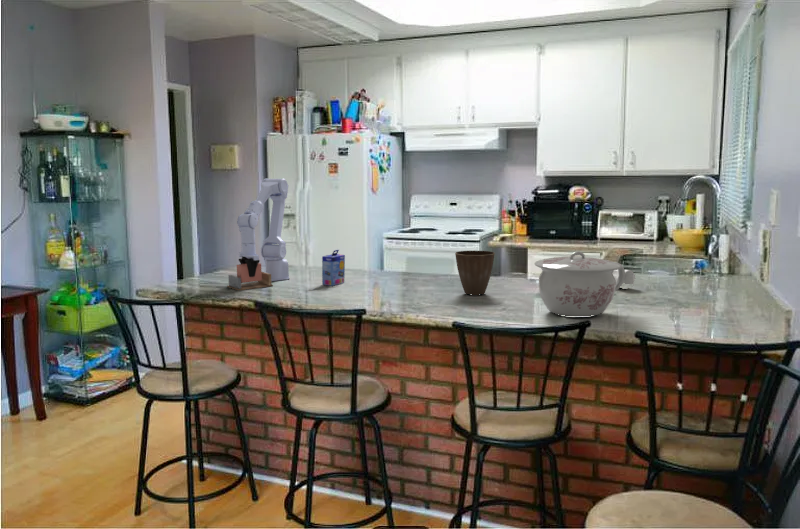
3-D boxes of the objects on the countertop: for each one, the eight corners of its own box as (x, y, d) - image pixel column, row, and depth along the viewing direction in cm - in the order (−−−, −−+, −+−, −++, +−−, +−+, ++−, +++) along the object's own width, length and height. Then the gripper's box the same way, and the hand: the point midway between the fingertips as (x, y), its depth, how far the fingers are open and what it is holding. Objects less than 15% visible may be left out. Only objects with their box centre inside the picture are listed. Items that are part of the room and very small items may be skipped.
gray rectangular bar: (231, 285, 266) (231, 274, 265) (241, 288, 259) (240, 277, 258) (228, 285, 265) (228, 275, 264) (238, 288, 258) (237, 277, 257)
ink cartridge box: (332, 286, 266) (332, 251, 264) (321, 285, 268) (320, 250, 266) (345, 282, 274) (345, 248, 272) (334, 281, 277) (334, 248, 275)
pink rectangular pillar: (257, 279, 270) (256, 262, 269) (261, 280, 267) (261, 263, 266) (237, 281, 264) (236, 264, 263) (241, 282, 261) (240, 265, 260)
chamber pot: (524, 319, 206) (526, 254, 203) (542, 302, 231) (543, 245, 228) (616, 327, 195) (619, 259, 192) (624, 309, 220) (627, 248, 217)
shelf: (261, 282, 275) (261, 271, 274) (272, 286, 267) (272, 274, 266) (227, 287, 265) (226, 275, 264) (237, 290, 257) (237, 278, 257)
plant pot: (447, 294, 246) (447, 253, 244) (467, 288, 258) (468, 249, 256) (481, 299, 237) (482, 256, 235) (501, 293, 249) (501, 252, 247)
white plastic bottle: (598, 282, 272) (598, 263, 271) (635, 289, 256) (636, 269, 255) (584, 284, 268) (585, 265, 266) (621, 291, 252) (622, 271, 251)
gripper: (231, 242, 266) (232, 274, 268) (247, 245, 255) (248, 279, 257) (247, 241, 271) (248, 273, 273) (263, 244, 260) (264, 277, 262)
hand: (249, 275), depth 265 cm, fingers closed on pink rectangular pillar, 4 cm apart
